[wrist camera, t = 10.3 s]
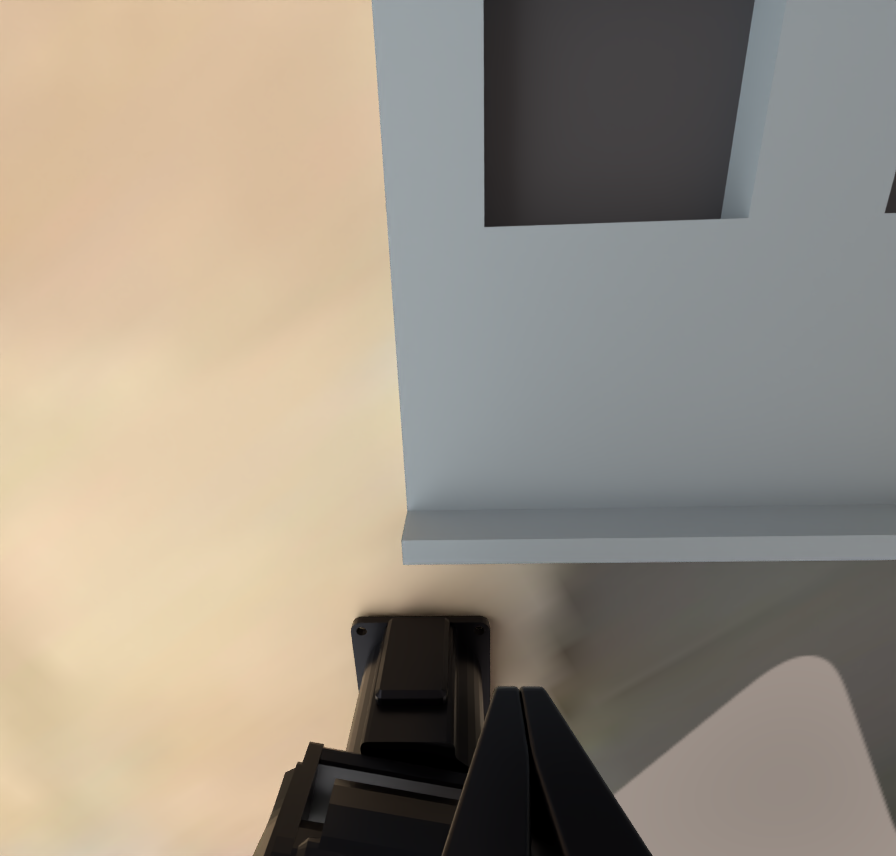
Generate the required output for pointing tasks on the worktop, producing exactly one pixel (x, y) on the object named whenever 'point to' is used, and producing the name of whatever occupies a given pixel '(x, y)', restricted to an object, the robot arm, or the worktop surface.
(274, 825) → the robot arm
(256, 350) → the worktop surface
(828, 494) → the board
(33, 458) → the worktop surface
